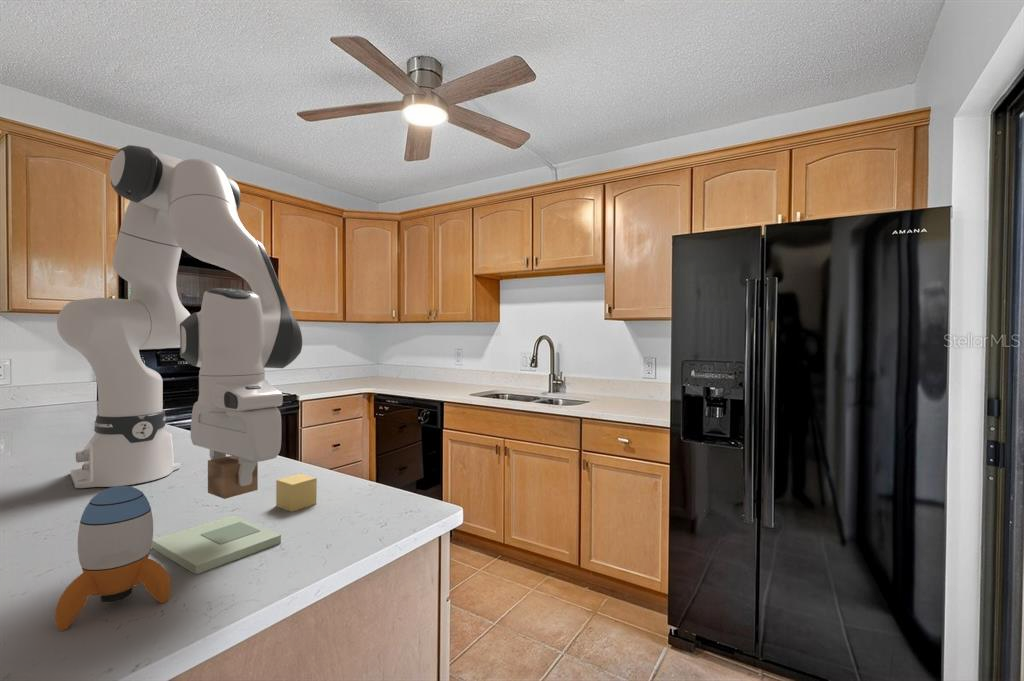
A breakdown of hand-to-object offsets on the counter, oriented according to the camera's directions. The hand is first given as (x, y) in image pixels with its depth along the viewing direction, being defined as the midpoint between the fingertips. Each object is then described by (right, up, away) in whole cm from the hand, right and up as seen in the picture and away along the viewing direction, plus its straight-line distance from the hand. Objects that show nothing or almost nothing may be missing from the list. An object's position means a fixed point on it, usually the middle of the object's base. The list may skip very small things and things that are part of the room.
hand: (232, 481), depth 75 cm
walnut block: (0, -2, 0) cm, 2 cm away
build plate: (-1, -9, -2) cm, 10 cm away
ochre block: (+3, -9, +16) cm, 19 cm away
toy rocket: (-2, -10, -18) cm, 20 cm away
